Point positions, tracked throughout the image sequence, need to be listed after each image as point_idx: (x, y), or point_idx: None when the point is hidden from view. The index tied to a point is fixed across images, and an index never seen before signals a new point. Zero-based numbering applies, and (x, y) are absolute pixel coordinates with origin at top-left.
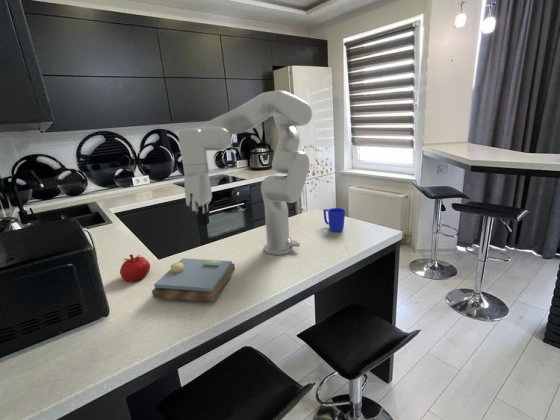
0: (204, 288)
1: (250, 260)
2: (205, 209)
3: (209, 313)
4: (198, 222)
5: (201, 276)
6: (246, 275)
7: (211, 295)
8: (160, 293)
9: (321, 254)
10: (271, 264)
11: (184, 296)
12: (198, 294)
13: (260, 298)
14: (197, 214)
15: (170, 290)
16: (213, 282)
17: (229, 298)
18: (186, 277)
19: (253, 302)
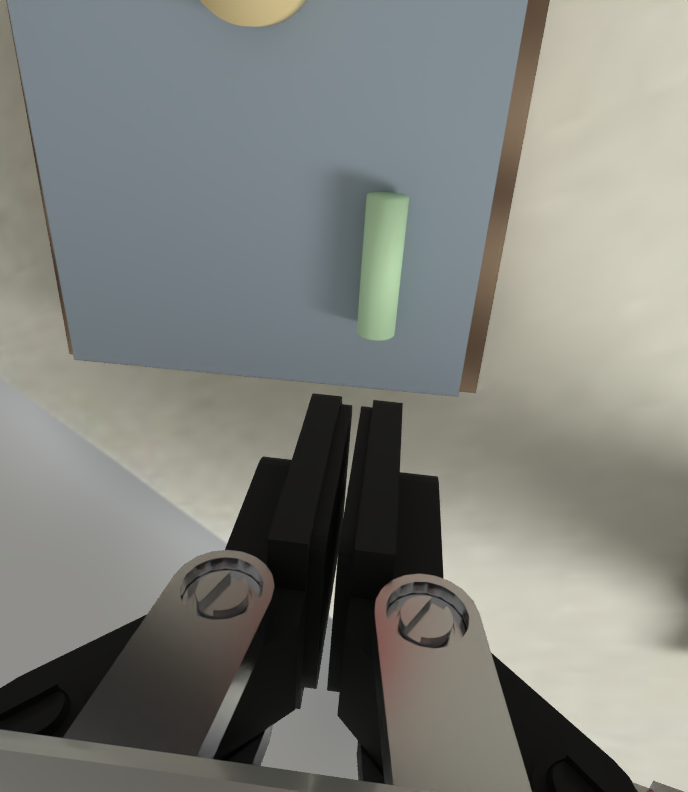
0: (66, 311)
1: (655, 420)
2: (357, 751)
3: (41, 317)
4: (308, 412)
5: (199, 239)
6: (435, 426)
7: (71, 344)
8: None
9: (646, 738)
10: (567, 540)
11: None
12: (55, 263)
13: (211, 516)
14: (270, 529)
15: None
16: (142, 349)
17: (185, 383)
18: (158, 117)
19: (174, 492)
